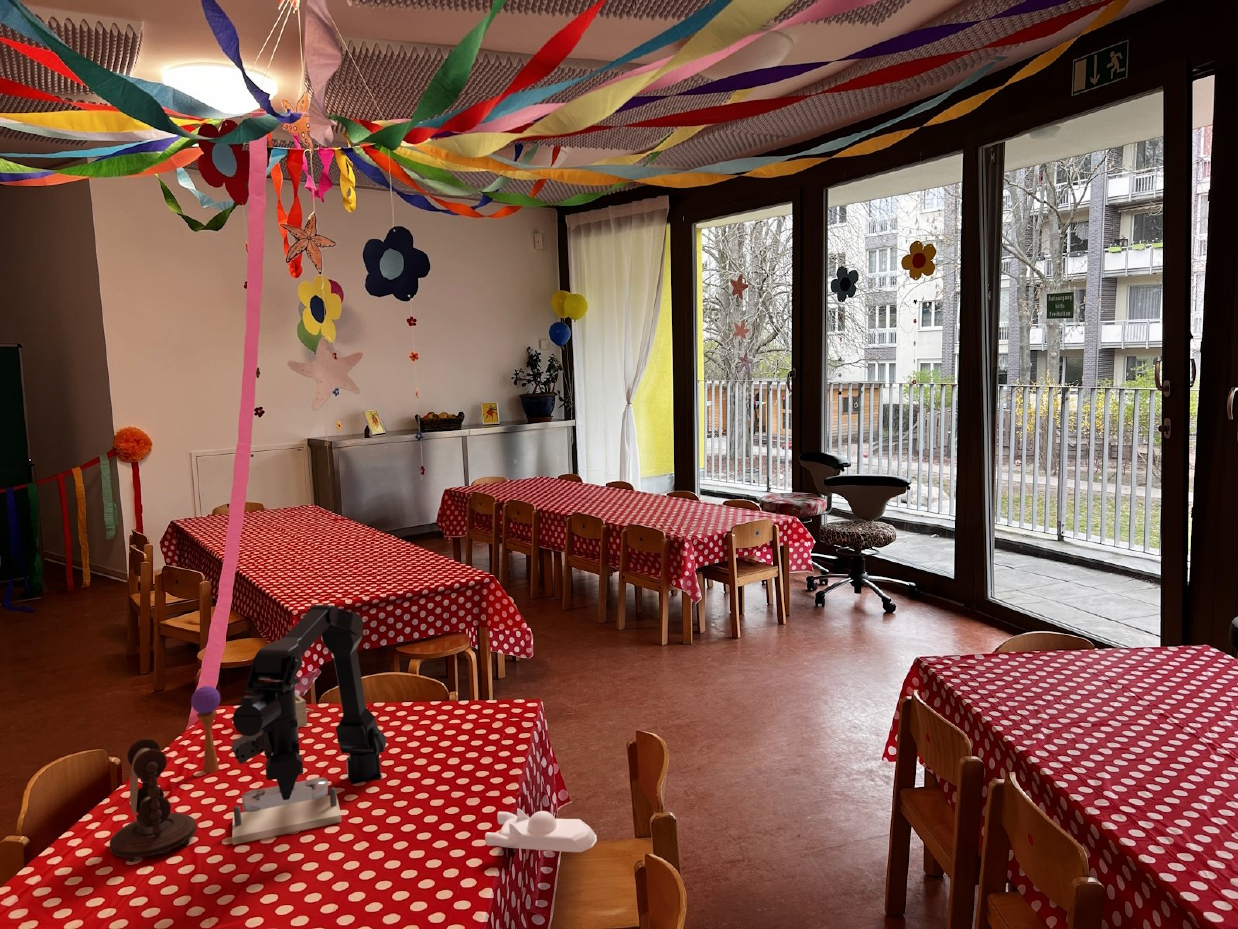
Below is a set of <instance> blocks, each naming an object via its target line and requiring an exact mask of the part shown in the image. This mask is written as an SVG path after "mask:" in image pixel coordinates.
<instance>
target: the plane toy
mask: <svg viewBox="0 0 1238 929" xmlns="http://www.w3.org/2000/svg"><path fill="white" fill-rule="evenodd" d="M516 814H517V815H516ZM516 814H515V813H514V814H513V813H512V812H509V811H498V812H497V816H496V818H497V823H498V825H502V827H501V829H500V830H499V833H498V832H488V831H487V832H486V833H485V835H484V838H485V840H484V841H485V844H486V846H488V847H490V846H492V847H495V846H496V847H497V846H498V847H501V848H511V849H521V850H522V849H524V850H535V851H537V850H539V851H551V852H563V853H565V852H568V853H582V852H585V851H586V850H589V849H591V848H593V847H594V846H595V844H596V843H597V840H598V839H597V834H596V833H595V831H594V830H593V829H592V828H591V827H590V826H589V825H588V824H586V823H585V822H584V821H583V820H581V819H580V818H555V817H554V815H553V814H552V813H550V812H549V811H546V810H540V811H536V812H535V813H533V814H532V815H531V816H528V815H527V814H526V813H525V812H524V811H523V810H521V808H517V809H516Z"/></svg>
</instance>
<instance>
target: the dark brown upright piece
mask: <svg viewBox="0 0 1238 929" xmlns="http://www.w3.org/2000/svg"><path fill="white" fill-rule="evenodd" d="M127 761H128V763H129V765H130V766H131V770H130V782H129V791H130V792H129V801H130V803H129V805H130V808H131V809H130V810H131V812H132V814H133V817H134V818H135V820H134V821H132V822H130V823H128V824H126V825H125V826H122V828H120V829H119V830H117V831H116V832H115V833H114V834H112V836H111V837H110V840H109V850H110V853H112V854H113V855H114V856H116V857H119V858H127V861H128V863H129V862H131V863H133V862H135V858H145V857H150V856H155V855H158V854H161V853H165V852H167V851H170V850H173V849H175V848H177V847H179V846H181V845H182V844H183V845H184V846H185V847H187V846H189V844H190V838H192V837H193V836H194V834H195V833H196V830H197V825H196V824H197V823H196V820H195V818H194V817H192V816H191V815H189V814H184V813H180V812H171V811H172V805H171V802H170V800H169V799H167V798H165V793H164V790H163V789H162V788H161V787H160V785H158V782H159V781H158V778H159V777H160V776H161V774H162V773H163V772H164V771H165V770H166V767H167V764H168V763H167V762H168V759H167V756H166V754H165V752H163V751H162V750H161V748H160V745H159V743H158V742H157V741H155V740H153V739H151V738H143V739H139V740H137V741H135V742H134V743H133V744H132V745H131V746H130V747H129V749H128V752H127ZM139 780H140V782H141V787H140V788H139Z"/></svg>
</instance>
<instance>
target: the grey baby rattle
mask: <svg viewBox="0 0 1238 929" xmlns="http://www.w3.org/2000/svg"><path fill="white" fill-rule="evenodd" d="M328 795H329V786H328V778H325V777H314V778H311V779H307V780H301V781H296V782H295V785H294V788H293V791H292V793H291V796H290V799H288V800H283V798H282V795H281V792H280V789H279V785H276V786H269V787H264V788H260V789H259V788H258V789H257V788H256V789H252V790H249V791H246V792H244V793H243V794H242V795H241V803H242V811H243V812H255V811H258V810H262V809H267V808H272V807H277V806H282V805H287V804H292V803H297V802H302V801H307V800H312V799H320V798H323V797H325V796H328Z"/></svg>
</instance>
